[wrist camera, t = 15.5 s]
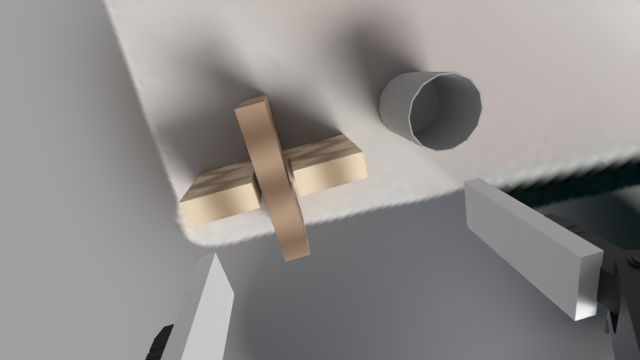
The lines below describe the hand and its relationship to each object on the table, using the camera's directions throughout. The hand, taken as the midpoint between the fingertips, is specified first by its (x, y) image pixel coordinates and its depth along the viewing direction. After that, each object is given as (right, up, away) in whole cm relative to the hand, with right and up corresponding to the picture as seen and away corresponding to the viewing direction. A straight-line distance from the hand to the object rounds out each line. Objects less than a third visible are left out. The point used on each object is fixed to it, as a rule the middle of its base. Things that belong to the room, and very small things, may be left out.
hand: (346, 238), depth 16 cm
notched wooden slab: (-7, +5, +27) cm, 28 cm away
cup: (+11, +13, +27) cm, 32 cm away
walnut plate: (-7, +5, +27) cm, 28 cm away
